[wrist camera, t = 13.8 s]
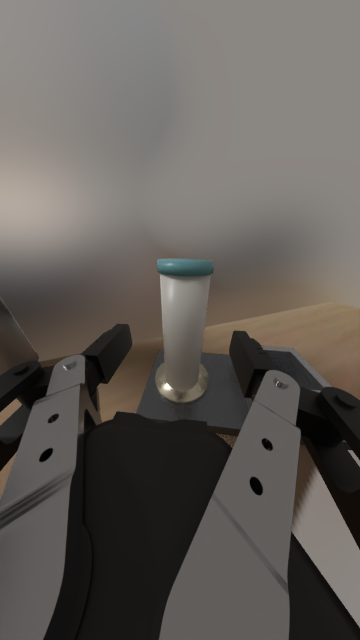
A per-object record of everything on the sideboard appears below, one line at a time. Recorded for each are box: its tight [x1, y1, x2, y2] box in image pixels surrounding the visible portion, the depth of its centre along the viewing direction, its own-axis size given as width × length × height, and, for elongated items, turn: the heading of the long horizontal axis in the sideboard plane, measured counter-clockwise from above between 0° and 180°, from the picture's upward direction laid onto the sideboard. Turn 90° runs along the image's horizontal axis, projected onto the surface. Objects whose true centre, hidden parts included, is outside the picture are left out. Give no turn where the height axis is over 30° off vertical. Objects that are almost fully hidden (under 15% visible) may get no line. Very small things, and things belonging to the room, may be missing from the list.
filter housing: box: [136, 346, 352, 450], centre depth 19 cm, size 24×12×6 cm, turn 84°
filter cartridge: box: [157, 259, 214, 391], centre depth 17 cm, size 5×5×16 cm
